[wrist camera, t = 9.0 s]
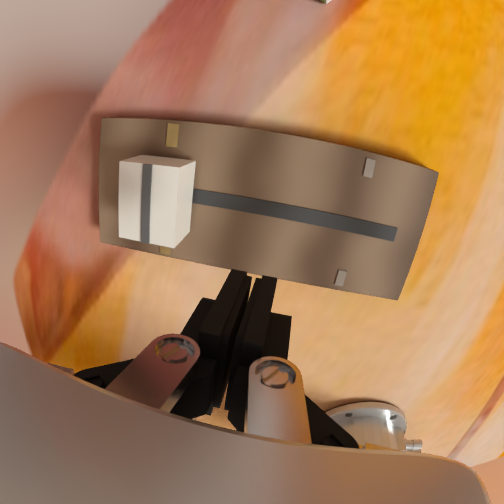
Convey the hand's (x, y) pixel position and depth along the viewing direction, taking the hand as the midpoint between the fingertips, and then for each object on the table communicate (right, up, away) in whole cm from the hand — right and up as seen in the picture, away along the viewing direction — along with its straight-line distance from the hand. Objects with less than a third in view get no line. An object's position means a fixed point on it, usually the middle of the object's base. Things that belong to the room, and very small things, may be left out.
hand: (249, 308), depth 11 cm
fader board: (0, +6, +11) cm, 13 cm away
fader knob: (-6, +6, +9) cm, 13 cm away
